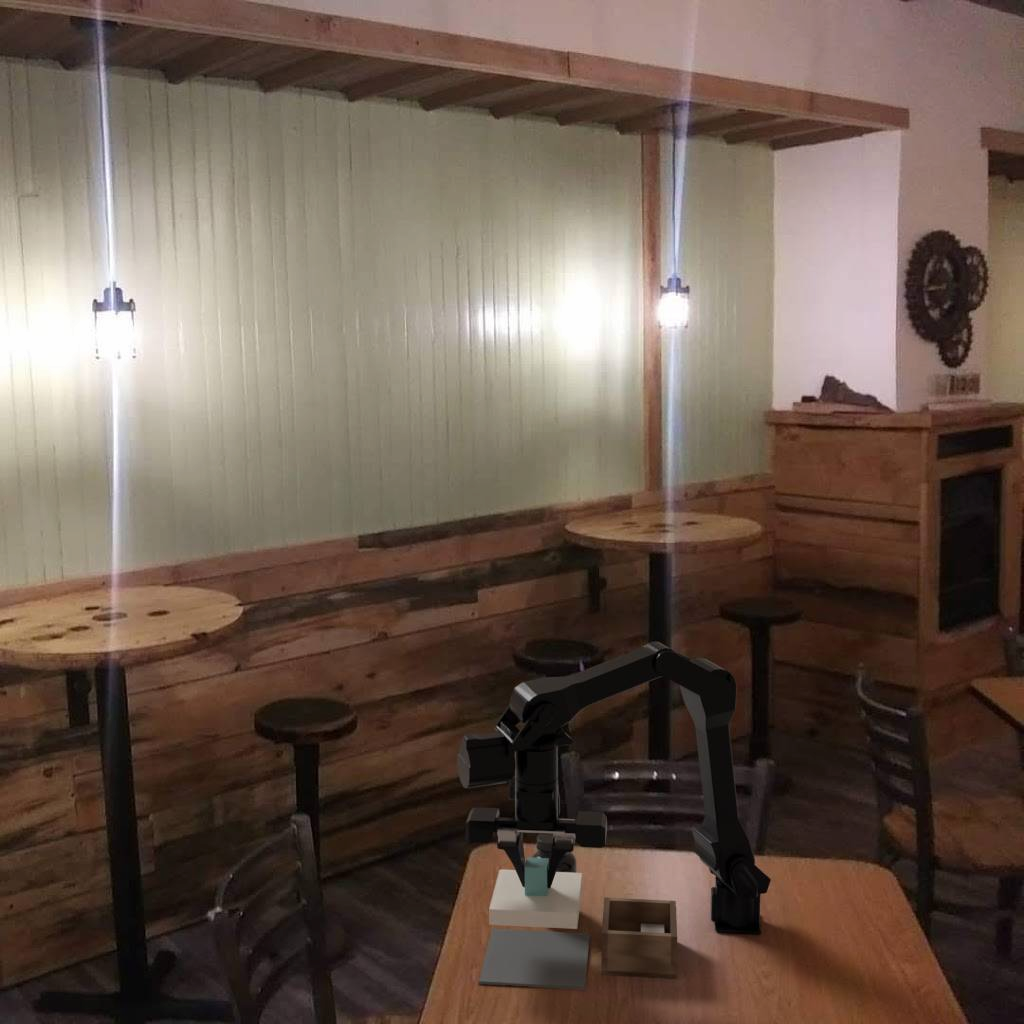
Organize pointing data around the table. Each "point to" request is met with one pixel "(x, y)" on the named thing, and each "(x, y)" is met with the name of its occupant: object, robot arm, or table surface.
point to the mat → (536, 959)
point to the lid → (536, 898)
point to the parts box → (639, 938)
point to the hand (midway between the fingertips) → (536, 886)
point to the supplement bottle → (544, 851)
